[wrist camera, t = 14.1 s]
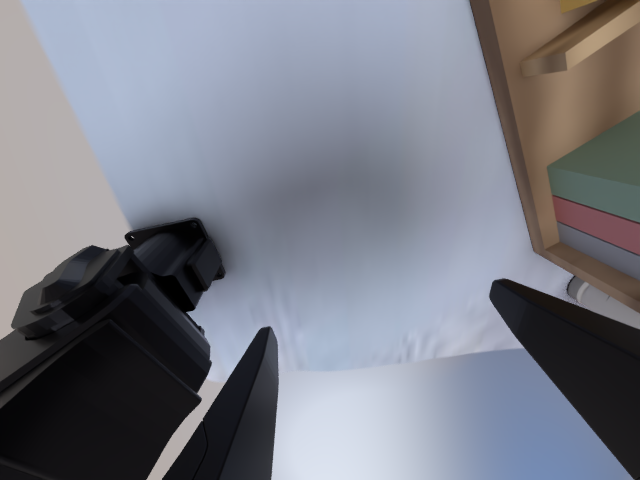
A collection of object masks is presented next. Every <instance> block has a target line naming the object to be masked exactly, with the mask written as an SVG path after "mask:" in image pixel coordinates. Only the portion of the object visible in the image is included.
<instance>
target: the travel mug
mask: <svg viewBox="0 0 640 480" xmlns="http://www.w3.org/2000/svg"><path fill="white" fill-rule="evenodd" d="M568 292H569V295H570V297H572V298H573V299H574V300H576V301H577V302H579V303H580V304H582V305H584V306H585V307H586V308H588V309H589V310H591V311H593V312H595V313H598V314H601V315H603V316H606V317H609V318H611V319H614V320H617V321H619V322H622V323H624V324H627V325H630V326H632V327H635V328H638V329H640V313H638V312H636V311H634V310H633V309H631V308H629V307H628V306H626V305H624V304H622V303H621V302H619V301H617V300H616V299H614V298H612V297H611V296H609V295H607V294H605V293H604V292H602V291H600V290H599V289H597V288H595V287H593V286H592V285H590V284H588V283H587V282H585V281H583V280H582V279H580V278H578V277H576V276H575V277H574V278H573V280H572V281H571V283H570V285H569V289H568Z"/></svg>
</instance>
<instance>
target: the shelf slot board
mask: <svg viewBox="0 0 640 480" xmlns="http://www.w3.org/2000/svg"><path fill="white" fill-rule="evenodd" d="M470 3H471V7H472V11H473V15H474V19H475V23H476V27H477V31H478V34H479V38H480V42H481V46H482V50H483V54H484V58H485V62H486V66H487V70H488V74H489V77H490V81H491V85H492V89H493V93H494V97H495V101H496V105H497V109H498V113H499V117H500V120H501V124H502V128H503V132H504V136H505V140H506V144H507V148H508V152H509V156H510V160H511V163H512V167H513V171H514V175H515V179H516V183H517V187H518V191H519V195H520V199H521V203H522V206H523V210H524V214H525V218H526V222H527V226H528V230H529V234H530V238H531V242H532V246H533V249H534V252H536V253H537V254H539V255H541V256H542V257H544V258H546V259H547V260H549V261H551V262H553V263H554V264H556V265H558V266H559V267H561V268H563V269H565V270H566V271H568V272H570V273H571V274H573V275H575V276H576V277H578V278H580V279H582V280H583V281H585V282H587V283H588V284H590V285H592V286H593V287H595V288H597V289H599V290H600V291H602V292H604V293H605V294H607V295H609V296H611V297H612V298H614V299H616V300H617V301H619V302H621V303H622V304H624V305H626V306H628V307H629V308H631V309H633V310H634V311H636V312H638V313H640V281H639V280H637V279H635V278H633V277H631V276H629V275H627V274H625V273H623V272H621V271H619V270H617V269H614V268H612V267H610V266H608V265H606V264H604V263H602V262H600V261H598V260H596V259H594V258H592V257H590V256H588V255H586V254H584V253H582V252H580V251H578V250H576V249H574V248H572V247H570V246H568V245H566V244H564V243H562V242H560V239H559V234H558V228H557V220H556V217H555V211H554V205H553V200H552V196H553V195H552V194H551V188H550V183H549V177H548V171H547V166H548V165H550V164H551V163H553V162H555V161H556V160H558V159H560V158H561V157H563V156H565V155H566V154H568V153H570V152H571V151H573V150H575V149H576V148H578V147H580V146H581V145H583V144H585V143H586V142H588V141H590V140H591V139H593V138H595V137H596V136H598V135H600V134H601V133H603V132H605V131H606V130H608V129H610V128H611V127H613V126H615V125H616V124H618V123H620V122H621V121H623V120H625V119H626V118H628V117H630V116H631V115H633V114H635V113H636V112H638V111H640V0H597V1H595V2H592V3H589V4H587V5H584V6H581V7H578V8H576V9H573V10H570V11H567V12H565V13H562V14H561V5H560V0H470Z"/></svg>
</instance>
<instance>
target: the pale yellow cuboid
mask: <svg viewBox="0 0 640 480" xmlns="http://www.w3.org/2000/svg"><path fill="white" fill-rule="evenodd" d="M595 1H597V0H560V5H561V14H562V13H565V12H567V11H570V10H573V9H576V8H578V7H581V6H584V5H587V4H589V3H592V2H595Z"/></svg>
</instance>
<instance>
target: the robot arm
mask: <svg viewBox="0 0 640 480" xmlns="http://www.w3.org/2000/svg"><path fill="white" fill-rule="evenodd" d="M192 223H196V224H197V226H194V225H193V224H192ZM131 236H133V237H134V238H132V237H131ZM125 239H126V241H127V242H128V244H129V245H130V246H129V245H126V246H123V247H121V248H118V249H113V250H109V249H103V248H100V247H97V246H93V245H91V246H89V247H86V248H84V249H82V250H80V251H79V252H77V253H76V254H74V255H73V256H71V257H69V258H68V259H66V260H65V261H64V262H62V263H61V264H60V265H59V266H57V267H56V268H55V270H54V271H53V272H51V273H49V274H47V275H46V276H45V277H44V279H43V280H42V281H41V282H39V283H38V284H36V285H34V286H33V287H31V288H29V289H28V290H26V291H25V292H24V294H23V296H22V298H21V301H20V303H19V306H18V309H17V311H16V314H15V316H14V319H13V321H12V324H11V327H12V328H13V329H15V330H14V331H13V332H11V333H10V334H8V335H7V336H6V337H4V338H3V339H1V340H0V480H146V479H147V478H148V476H149V474H150V472H151V471H152V469H153V467H154V466H155V464H156V462H157V460H158V458H159V457H160V455H161V453H162V451H163V449H164V448H165V446H166V444H167V443H168V441H169V439H170V438H171V437H172V435H173V433H174V432H175V431H176V430H177V428H178V427H179V425H180V424H181V423H182V422H183V420H184V419H185V418H186V417H187V416H188V415H189V413H191V412H192V411H193V410H194V409H195V408H196V407H197V406H198V405H199V404H200V402H201V400H202V398H201V397H200V396H199V395H198V394H197V393H198V391H199V389H200V388H201V386H202V384H203V382H204V381H205V379H206V377H207V375H208V373H209V370H210V367H211V365H212V362H211V361H210V360H209V359H210V345H209V343H208V341H207V339H206V338H205V337H204V330H203V328H202V327H201V326H198V325H197V324H196V323H195V322H194V321H193V319H192V318H191V317H190V316H189V315H188V314H187V313H186V312H189V311H193V310H195V308H196V306H197V304H198V302H199V300H200V298H201V296H202V294H203V292H205V291H207V290H208V289H209V287H210V285H211V283H212V281H214V280H219V279H222V278H224V276H225V270H224V268H223V266H222V264H221V263H222V260H221V258H220V256H219V254H218V252H217V250H216V248H215V246H214V244H213V242H212V240H211V239H209V237H208V235H207V233H206V231H205V229H204V227H203V225H202V223H201V221H200V220H199V219H197V218H191V219H186V220H181V221H177V222H172V223H167V224H162V225H158V226H153V227H148V228H143V229H139V230H134V231H130V232H128V233H127V234H126V235H125ZM218 273H221V274H222V275H220V274H218ZM489 297H490V300H491V302H492V304H493V305H494V307H495V308H496V309H497V311H498V312H499V314H500V315H501V317H502V318H503V320H504V321H505V323H506V324H507V326H508V327H509V328H510V330H511V331H512V333H513V334H514V335H515V337H516V338H517V339H518V341H519V342H520V343H521V344H522V345H523V347H524V348H525V349H526V350H527V351H528V353H529V354H530V355H531V356H532V357H533V359H534V360H535V361H536V362H537V363H538V365H539V366H540V367H541V368H542V369H543V371H544V372H545V373H546V374H547V375H548V377H549V378H550V379H551V380H552V381H553V383H554V384H555V385H556V386H557V388H558V389H559V390H560V391H561V392H562V394H563V395H564V396H565V397H566V398H567V399H568V401H569V402H570V403H571V404H572V406H573V407H574V408H575V409H576V410H577V411H578V413H579V414H580V415H581V416H582V417H583V419H584V420H585V421H586V422H587V424H588V425H589V426H590V427H591V428H592V430H593V431H594V432H595V433H596V434H597V436H598V437H599V438H600V439H601V440H602V442H603V443H604V444H605V445H606V446H607V448H608V449H609V450H610V451H611V452H612V454H613V455H614V456H615V457H616V458H617V460H618V461H619V462H620V463H621V464H622V466H623V467H624V468H625V469H626V471H627V472H628V473H629V474H630V475H631V477H632V478H633V479H634V480H640V329H638V328H635V327H632V326H630V325H627V324H624V323H622V322H619V321H617V320H614V319H611V318H609V317H606V316H603V315H601V314H598V313H595V312H593V311H590V310H588V309H585V308H582V307H580V306H577V305H574V304H572V303H569V302H566V301H564V300H561V299H559V298H556V297H553V296H551V295H548V294H545V293H543V292H540V291H538V290H535V289H532V288H530V287H527V286H524V285H522V284H519V283H516V282H514V281H511V280H509V279H505V278H503V279H498V280H494V281H493V282H492V286H491V290H490V294H489ZM278 384H279V379H278V344H277V339H276V337H275V334H274V332H273V330H272V328H271V327H270V326H269V327H264V328H261V329H260V330H259V331H258V333H257V334H256V336H255V338H254V339H253V341H252V342H251V344H250V345H249V347H248V349H247V350H246V352H245V353H244V355H243V356H242V358H241V360H240V361H239V363H238V364H237V366H236V367H235V369H234V371H233V372H232V374H231V375H230V377H229V378H228V380H227V382H226V383H225V385H224V386H223V388H222V390H221V391H220V393H219V394H218V396H217V397H216V399H215V401H214V402H213V404H212V405H211V407H210V409H209V410H208V412H207V413H206V415H205V416H204V418H203V421H201V423H200V424H199V426H198V427H197V429H196V430H195V432H194V433H193V435H192V437H191V438H190V440H189V441H188V443H187V444H186V446H185V447H184V449H183V450H182V452H181V453H180V455H179V456H178V457H177V459H176V460H175V462H174V463H173V464H172V466H171V467H170V469H169V470H168V471H167V473H166V474H165V476H164V477H163V478H162V480H271V476H272V475H271V474H272V463H273V450H274V438H275V437H274V436H275V425H276V424H275V423H276V411H277V399H278Z"/></svg>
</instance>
